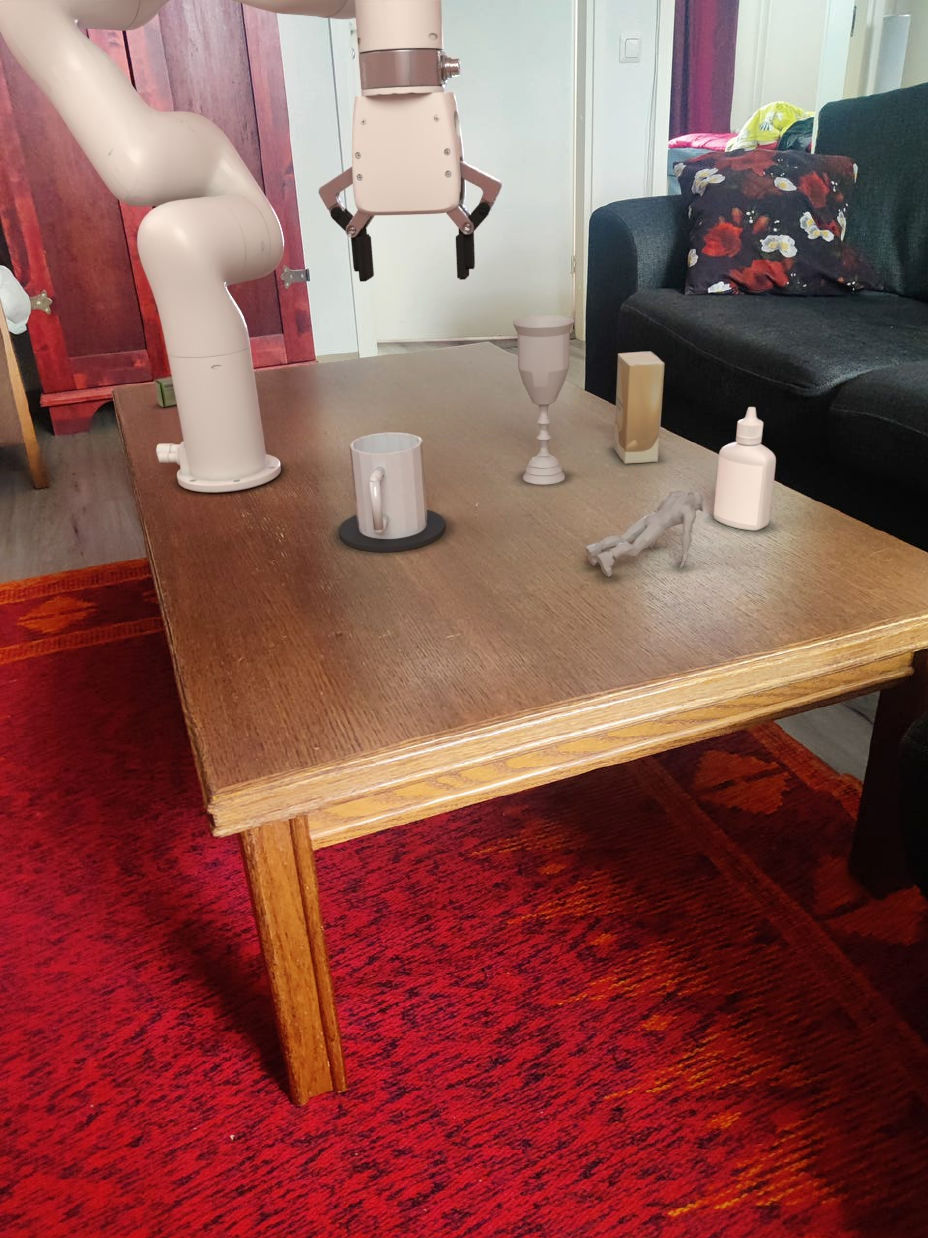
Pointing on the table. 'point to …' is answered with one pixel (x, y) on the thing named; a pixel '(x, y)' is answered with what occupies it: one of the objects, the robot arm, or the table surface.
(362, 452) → the coffee mug
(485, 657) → the table surface
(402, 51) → the robot arm
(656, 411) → the cosmetic box
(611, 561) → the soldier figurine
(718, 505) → the eye dropper bottle
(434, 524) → the coaster
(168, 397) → the medication box
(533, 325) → the chalice
